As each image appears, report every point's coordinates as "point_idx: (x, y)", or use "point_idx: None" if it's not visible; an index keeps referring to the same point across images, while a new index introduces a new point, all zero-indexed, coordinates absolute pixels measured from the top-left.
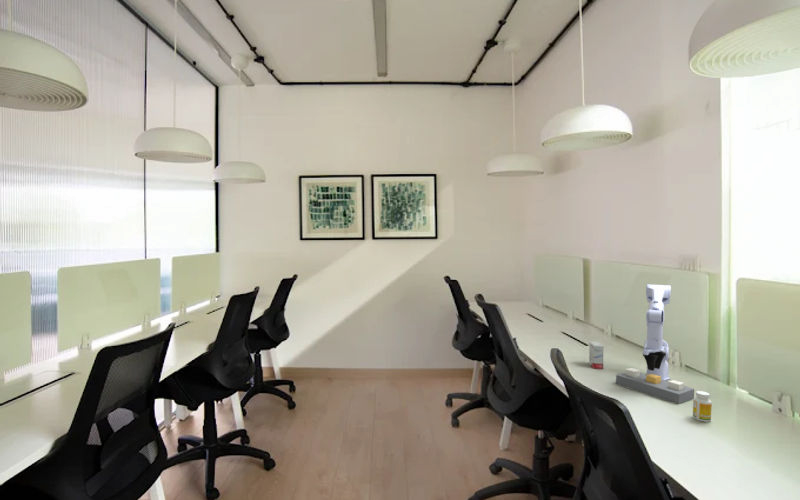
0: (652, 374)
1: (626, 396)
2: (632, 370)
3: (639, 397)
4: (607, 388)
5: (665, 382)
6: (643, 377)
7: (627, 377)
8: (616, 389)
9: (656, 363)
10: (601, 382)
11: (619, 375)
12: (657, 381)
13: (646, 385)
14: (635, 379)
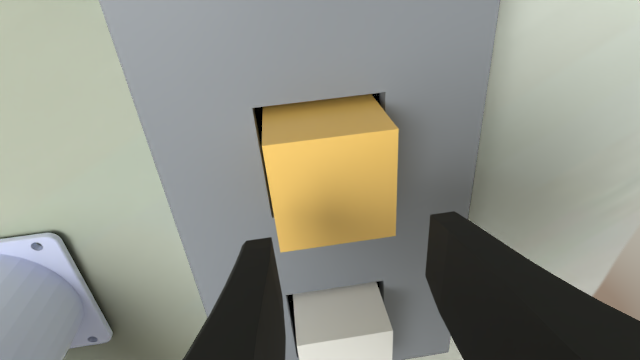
0: (296, 230)
1: (628, 117)
2: (369, 358)
3: (578, 61)
4: (556, 258)
5: (215, 85)
6: (301, 265)
7: (433, 299)
8: (530, 230)
9: (277, 344)
10: None
11: (438, 340)
12: (343, 113)
13: (475, 124)
14: (426, 251)
